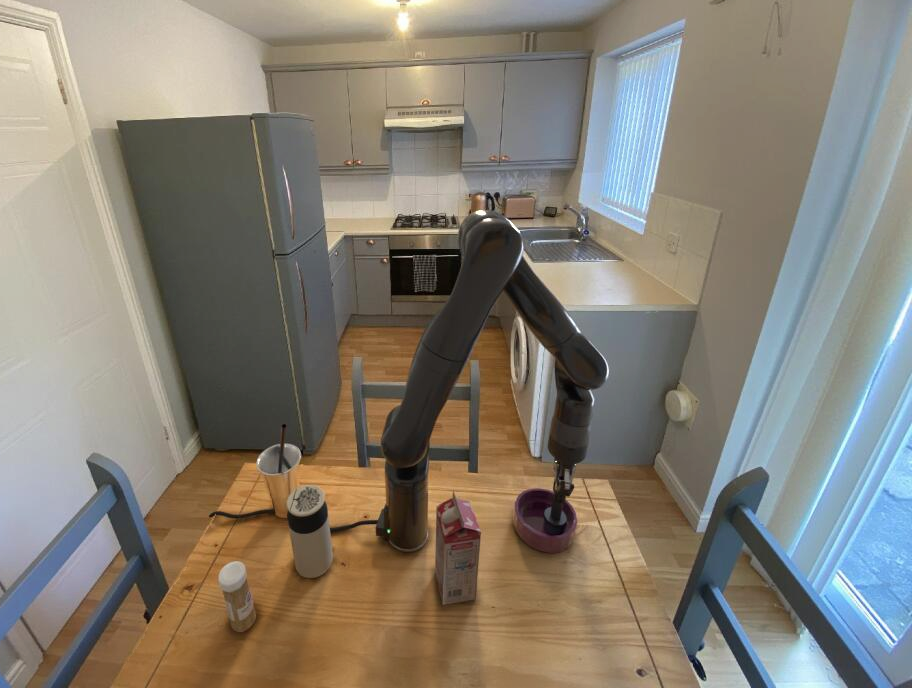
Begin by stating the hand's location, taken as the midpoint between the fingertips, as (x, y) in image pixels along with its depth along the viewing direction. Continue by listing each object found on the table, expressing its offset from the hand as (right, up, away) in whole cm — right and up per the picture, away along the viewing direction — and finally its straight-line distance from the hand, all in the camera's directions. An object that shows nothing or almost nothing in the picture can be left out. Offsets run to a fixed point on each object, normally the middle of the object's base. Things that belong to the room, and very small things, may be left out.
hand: (558, 496), depth 92 cm
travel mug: (-53, -13, -2) cm, 55 cm away
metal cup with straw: (-62, -8, +11) cm, 64 cm away
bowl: (-2, -9, +5) cm, 11 cm away
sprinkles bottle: (-65, -18, -12) cm, 68 cm away
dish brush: (0, -9, +4) cm, 10 cm away
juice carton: (-24, -15, -7) cm, 29 cm away
